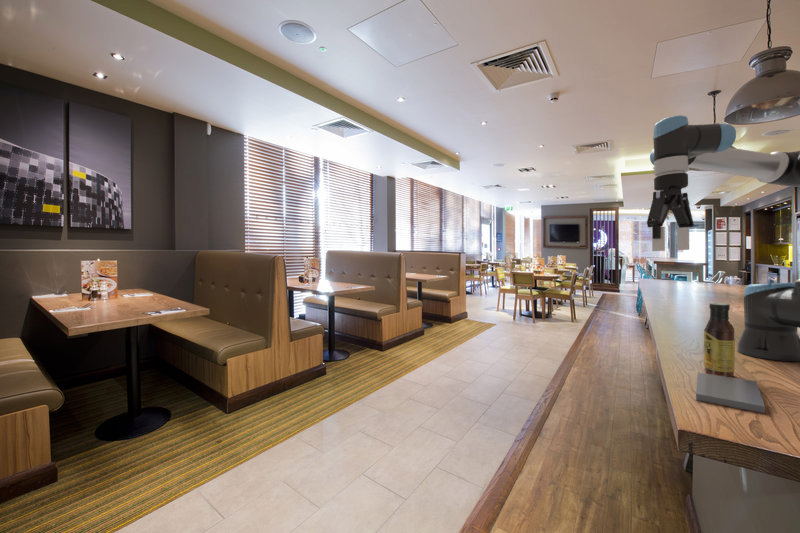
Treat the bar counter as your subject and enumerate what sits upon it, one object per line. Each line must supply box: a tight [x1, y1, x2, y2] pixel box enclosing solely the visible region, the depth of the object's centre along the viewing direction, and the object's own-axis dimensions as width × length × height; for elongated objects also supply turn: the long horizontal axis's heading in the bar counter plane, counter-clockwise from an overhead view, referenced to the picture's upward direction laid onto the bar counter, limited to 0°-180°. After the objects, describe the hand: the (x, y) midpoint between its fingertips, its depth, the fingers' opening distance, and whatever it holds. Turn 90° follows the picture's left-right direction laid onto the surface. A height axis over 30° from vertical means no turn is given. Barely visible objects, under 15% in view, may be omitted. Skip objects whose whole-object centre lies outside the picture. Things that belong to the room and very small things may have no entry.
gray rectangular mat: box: [695, 371, 766, 414], centre depth 83 cm, size 18×11×2 cm, turn 138°
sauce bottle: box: [703, 302, 736, 378], centre depth 95 cm, size 6×6×20 cm
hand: (671, 250), depth 97 cm, fingers open, 13 cm apart
